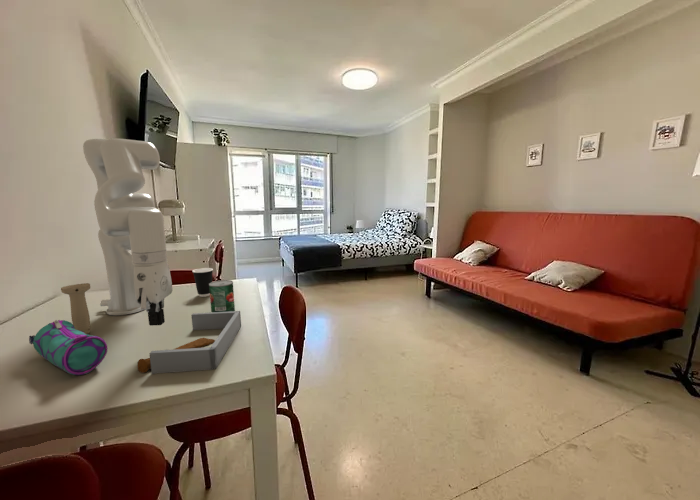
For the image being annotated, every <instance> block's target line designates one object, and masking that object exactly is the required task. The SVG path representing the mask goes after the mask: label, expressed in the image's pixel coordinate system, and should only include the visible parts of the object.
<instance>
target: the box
mask: <svg viewBox="0 0 700 500" xmlns="http://www.w3.org/2000/svg"><path fill="white" fill-rule="evenodd" d="M190 315H191V326H192V327H191V328H192V331H202V330H218V329H222V331H221V332H220V333H219V335H218V337H217V338H216V339H214V340H215V342H214V343H212V344H211V346H209V347H208V346H206V347H202V348H190V349H175V348H173V349H174V350H172V349H163V350H161V349H160V350H151V351H150V352H149V358H150V362H151V369H150V371H151V374H165V373H178V372H179V373H180V372H195V371H206V370H209V371H210V370H217V368H218V367H219V366H220V363H221V361H222V360H223V358H224V357H225V354H227V351H228V349H229V348H230V346H231V344H232V343H233V341H234V340H235V338H236V336H237V335H238V332H239V330H240V329H241V327H242V319H241V311H240V310H237V311H236V310H235V311H230V312H211V311H210V312H194V313H193V312H192V313H191V314H190Z"/></svg>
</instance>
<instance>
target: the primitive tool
mask: <svg viewBox="0 0 700 500" xmlns="http://www.w3.org/2000/svg"><path fill="white" fill-rule="evenodd" d="M215 340H216V339H214V338H207V337H200V338H198V339H195V340H192V341H190V342H188V343H187V342H186V343H185V344H183V345H180V346H177V347H175V348H173V349H171V350H174V349H190V348H205V347H208V346H210V345H213V343H214V342H215ZM149 370H151V362H150V357H148V358H140V359H139V360H138V361H137V371H138V372H139V373H143V374H146V373H147V372H148V371H149Z"/></svg>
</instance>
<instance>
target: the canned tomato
mask: <svg viewBox="0 0 700 500" xmlns="http://www.w3.org/2000/svg"><path fill="white" fill-rule="evenodd" d="M233 281H234V280H229V279H223V280H221V279H220V280H214V281H212V282H211V283H209V290H210V295H209V298H210V299H209V300H210V303H209V304H210V312H230V311H236V308H235V306H236V305H235V291H234V282H233Z"/></svg>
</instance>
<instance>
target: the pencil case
mask: <svg viewBox="0 0 700 500" xmlns="http://www.w3.org/2000/svg"><path fill="white" fill-rule="evenodd" d="M28 342H29V344H30V345H33V348H34V350H35V351H36V352H37V353H38V355H40V356H41V357H42V358H44V359H45V360H46V361H48V362H49V363H50V364H52V365H54V366H55V367H57V368H58V369H60V370H63V371H64V372H65V373H67V374H70V375H72V376H81V375H86V374H89V373H91V372H92V371H93V370H95V369H96V368H97V367H98V366H99V365H100V364H101V363H102V362H103V360H104V359H105V357H106V356H107V354H108V345H107V344H108V343H107V342H106V341H105V339H103V338H102V337H100V336H97V335H90V334H85V333H84V332H81V331H79V330H75V327H74V325H73V323H72V322H70V321H68V320H66V319H65V320H64V319H62V320H60V319H58V320H57V319H55V320H54V321H53V322H49V323H47V324H46V325H44V326H43V327H41V328H40V329H39V330H38V331H37V332H36V334H34V335H29V337H28Z"/></svg>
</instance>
